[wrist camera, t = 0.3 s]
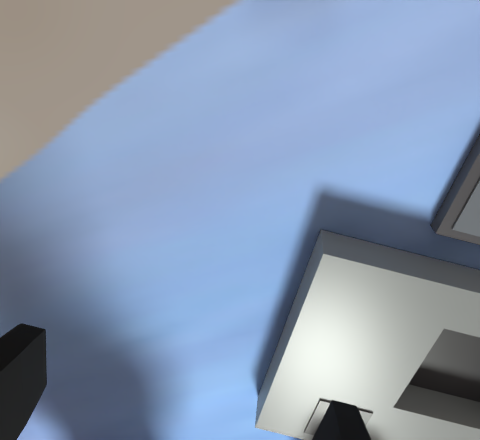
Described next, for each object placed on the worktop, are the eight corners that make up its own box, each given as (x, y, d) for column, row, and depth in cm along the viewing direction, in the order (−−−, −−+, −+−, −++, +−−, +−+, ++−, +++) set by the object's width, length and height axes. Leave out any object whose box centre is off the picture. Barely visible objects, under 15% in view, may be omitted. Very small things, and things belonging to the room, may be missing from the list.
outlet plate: (516, 461, 25) (534, 498, 23) (257, 397, 25) (254, 429, 23) (659, 315, 19) (697, 350, 17) (320, 229, 19) (323, 255, 17)
